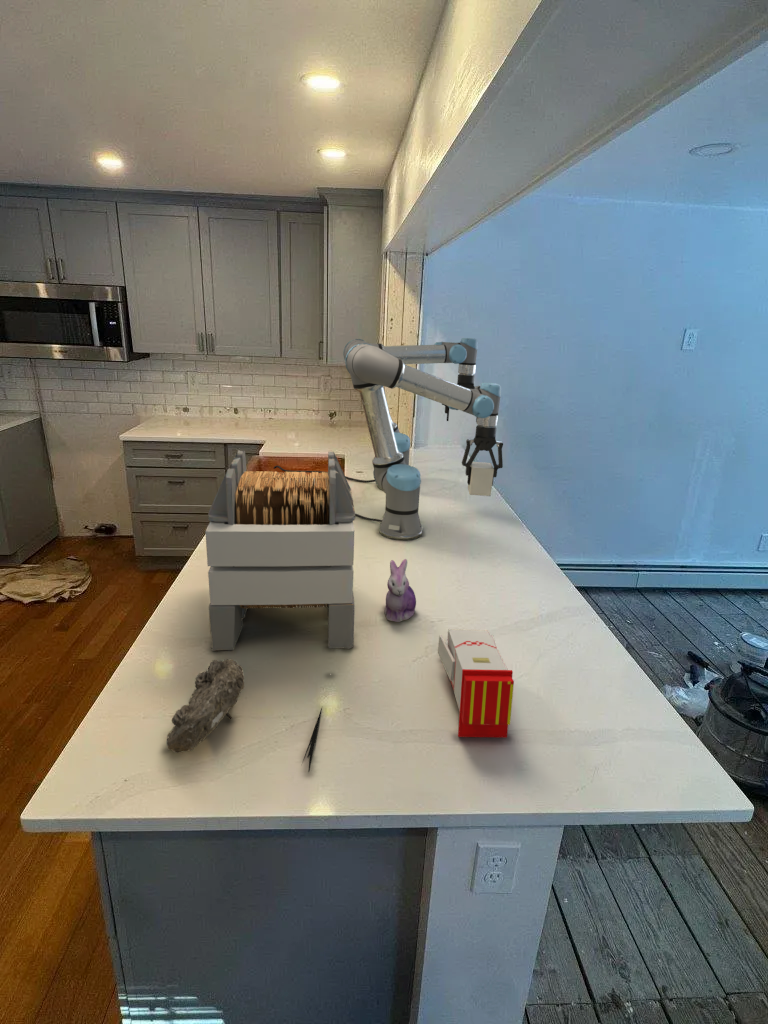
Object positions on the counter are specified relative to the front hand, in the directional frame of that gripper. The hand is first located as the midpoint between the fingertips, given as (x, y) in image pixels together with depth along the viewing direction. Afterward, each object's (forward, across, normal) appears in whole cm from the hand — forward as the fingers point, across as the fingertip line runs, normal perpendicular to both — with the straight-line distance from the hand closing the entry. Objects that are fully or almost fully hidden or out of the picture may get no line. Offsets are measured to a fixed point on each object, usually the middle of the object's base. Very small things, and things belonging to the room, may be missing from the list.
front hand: (479, 484), depth 218 cm
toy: (+13, +13, +111) cm, 112 cm away
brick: (+3, 0, 0) cm, 3 cm away
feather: (+13, +42, +123) cm, 130 cm away
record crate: (+13, +57, +84) cm, 103 cm away
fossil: (+13, +63, +124) cm, 140 cm away
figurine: (+13, +28, +81) cm, 87 cm away
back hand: (-15, +4, -50) cm, 53 cm away
